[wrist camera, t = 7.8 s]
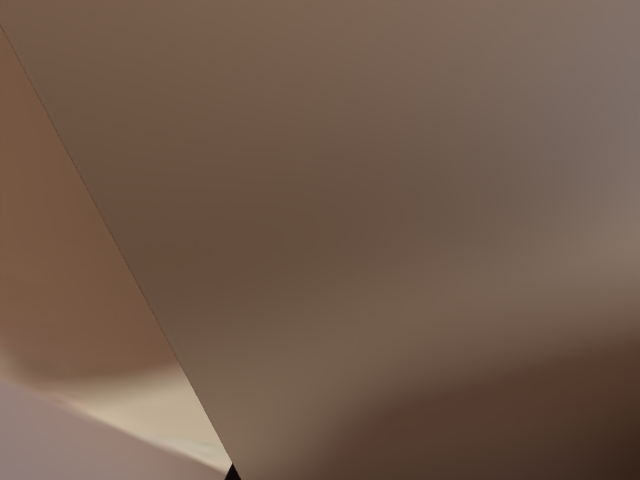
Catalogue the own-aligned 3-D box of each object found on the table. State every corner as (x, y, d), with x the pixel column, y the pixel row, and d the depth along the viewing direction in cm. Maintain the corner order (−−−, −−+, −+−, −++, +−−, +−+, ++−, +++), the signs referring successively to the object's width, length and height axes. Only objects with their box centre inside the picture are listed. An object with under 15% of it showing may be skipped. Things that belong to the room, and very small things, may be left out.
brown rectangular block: (485, 494, 14) (587, 695, 9) (348, 530, 14) (384, 750, 9) (464, -100, 6) (975, -564, 2) (155, -24, 6) (-169, -297, 2)
